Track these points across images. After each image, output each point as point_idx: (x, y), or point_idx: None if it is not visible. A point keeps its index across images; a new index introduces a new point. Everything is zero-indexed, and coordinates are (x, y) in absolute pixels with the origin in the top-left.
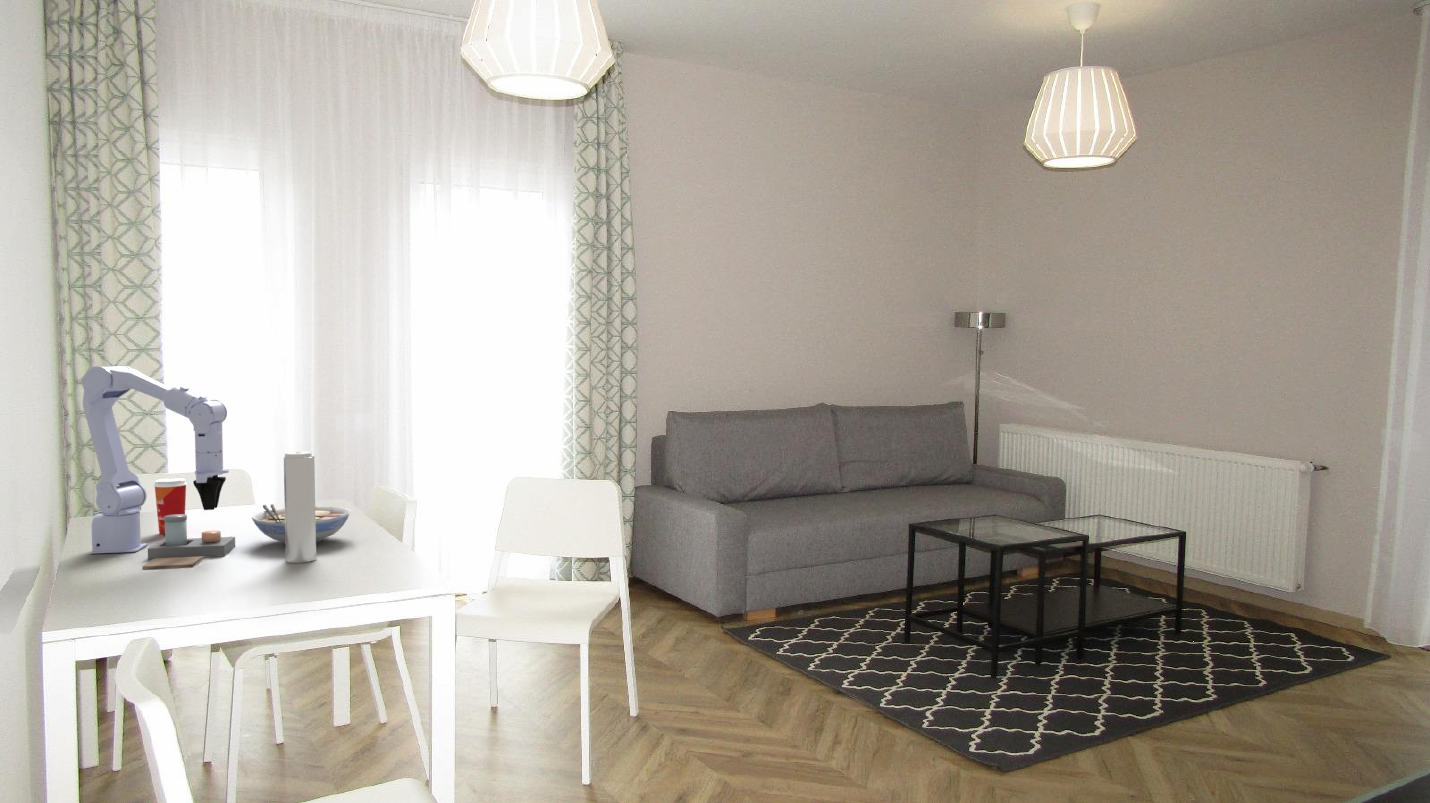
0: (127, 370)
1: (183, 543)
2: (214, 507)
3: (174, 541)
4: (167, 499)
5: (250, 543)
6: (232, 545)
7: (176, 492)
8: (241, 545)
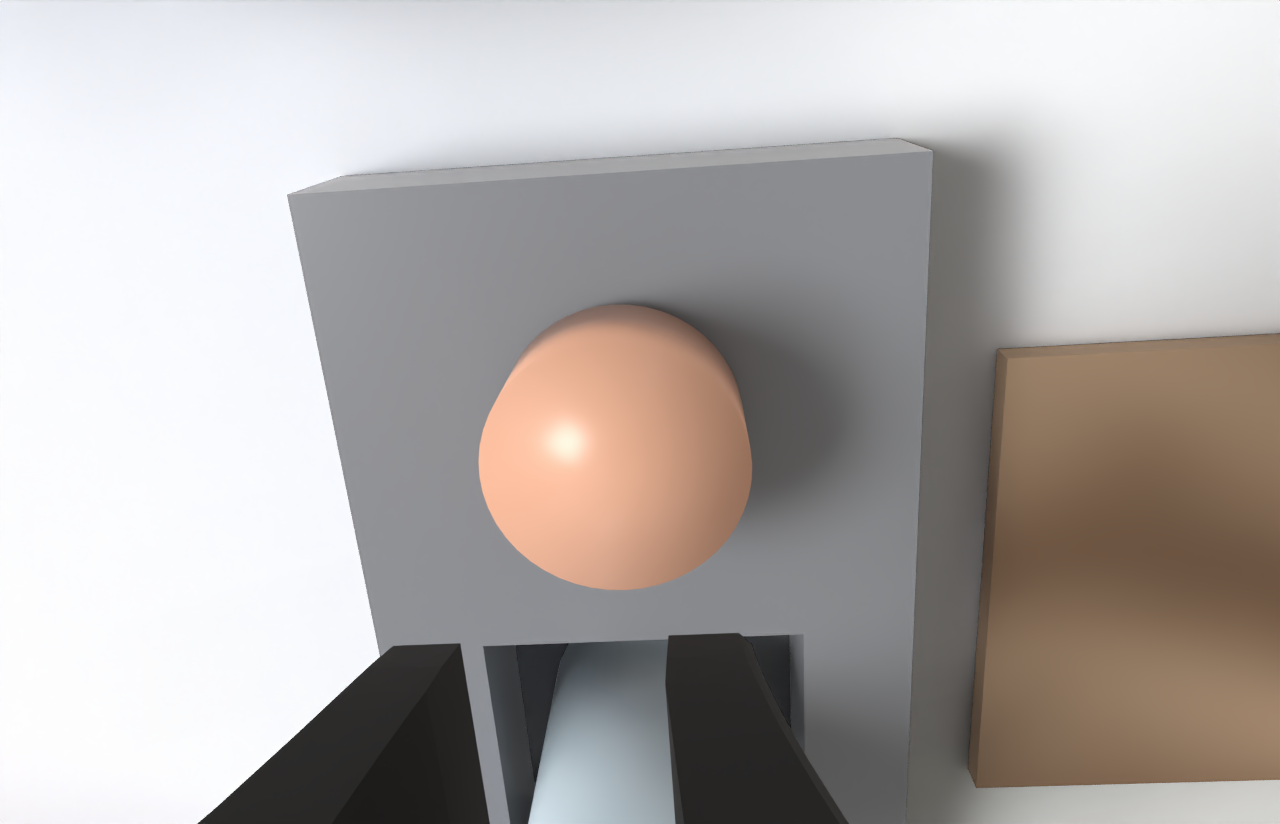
0: None
1: None
2: (699, 651)
3: None
4: None
5: (118, 36)
6: (475, 171)
7: None
8: (249, 123)
